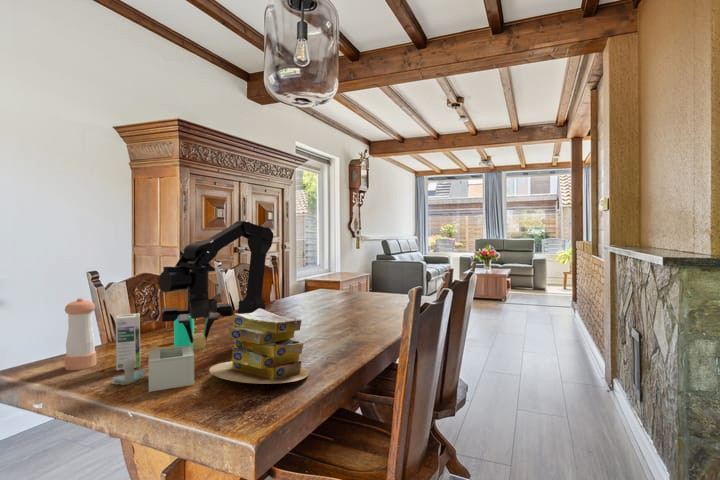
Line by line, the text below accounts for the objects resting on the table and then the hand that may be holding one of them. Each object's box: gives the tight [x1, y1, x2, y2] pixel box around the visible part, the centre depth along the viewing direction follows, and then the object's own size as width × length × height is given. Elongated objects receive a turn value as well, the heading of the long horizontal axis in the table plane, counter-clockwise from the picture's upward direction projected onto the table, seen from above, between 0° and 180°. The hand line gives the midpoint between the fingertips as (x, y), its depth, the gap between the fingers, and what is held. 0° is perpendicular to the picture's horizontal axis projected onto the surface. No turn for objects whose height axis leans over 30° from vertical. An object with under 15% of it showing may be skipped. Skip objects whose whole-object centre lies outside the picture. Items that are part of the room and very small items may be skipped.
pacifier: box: [111, 358, 146, 386], centre depth 101 cm, size 7×6×6 cm
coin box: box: [147, 345, 195, 393], centre depth 101 cm, size 10×10×7 cm
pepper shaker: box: [64, 297, 97, 371], centre depth 112 cm, size 7×7×19 cm
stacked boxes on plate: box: [208, 308, 309, 385], centre depth 104 cm, size 25×25×17 cm
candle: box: [173, 316, 195, 350], centre depth 130 cm, size 6×6×12 cm
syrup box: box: [115, 312, 141, 371], centre depth 112 cm, size 6×6×14 cm
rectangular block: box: [191, 331, 207, 350], centre depth 115 cm, size 3×6×3 cm, turn 28°
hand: (198, 341), depth 115 cm, fingers closed on rectangular block, 3 cm apart
